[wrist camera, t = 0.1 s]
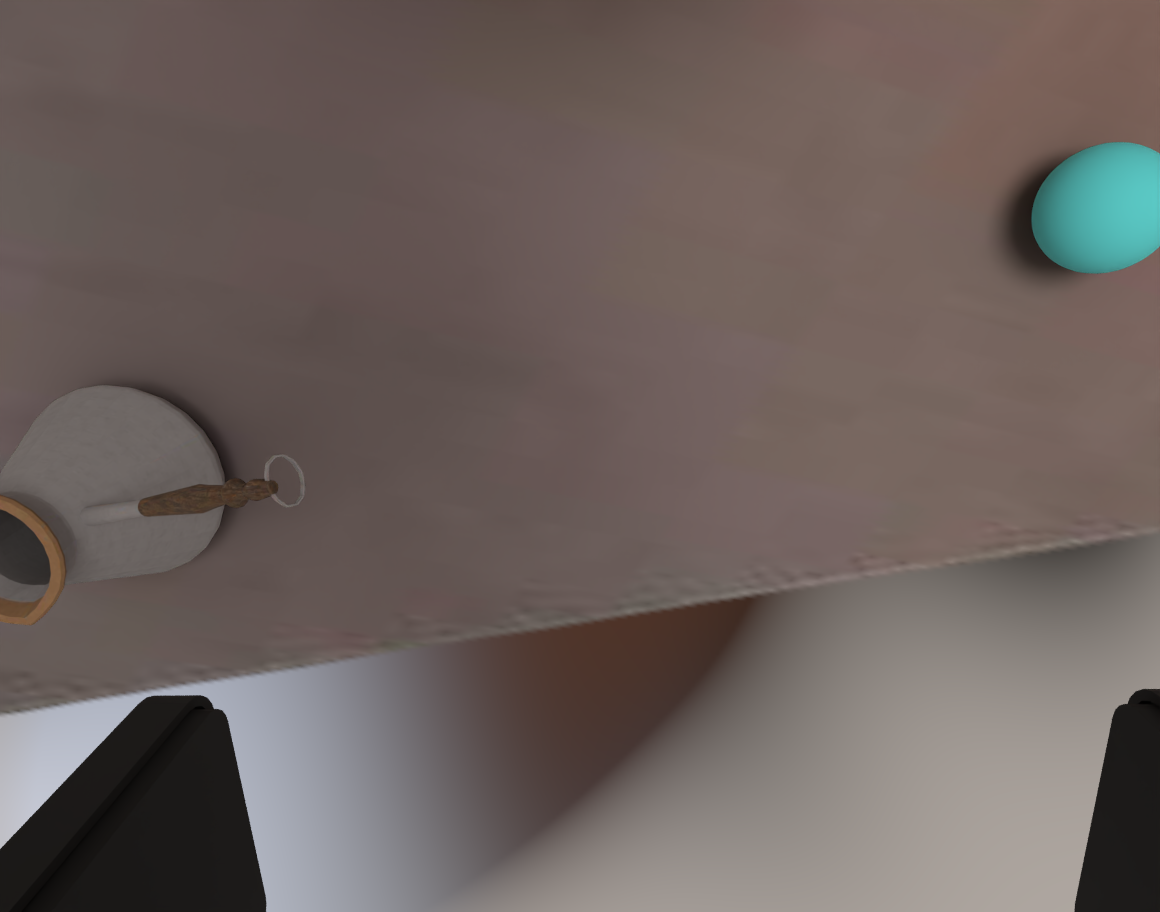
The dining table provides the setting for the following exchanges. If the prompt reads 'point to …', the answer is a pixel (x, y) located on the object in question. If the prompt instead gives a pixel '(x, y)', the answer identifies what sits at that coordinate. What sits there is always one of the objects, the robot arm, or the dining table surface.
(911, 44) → the dining table surface
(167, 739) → the robot arm
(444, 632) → the dining table surface
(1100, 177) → the ball
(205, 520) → the coffee pot
